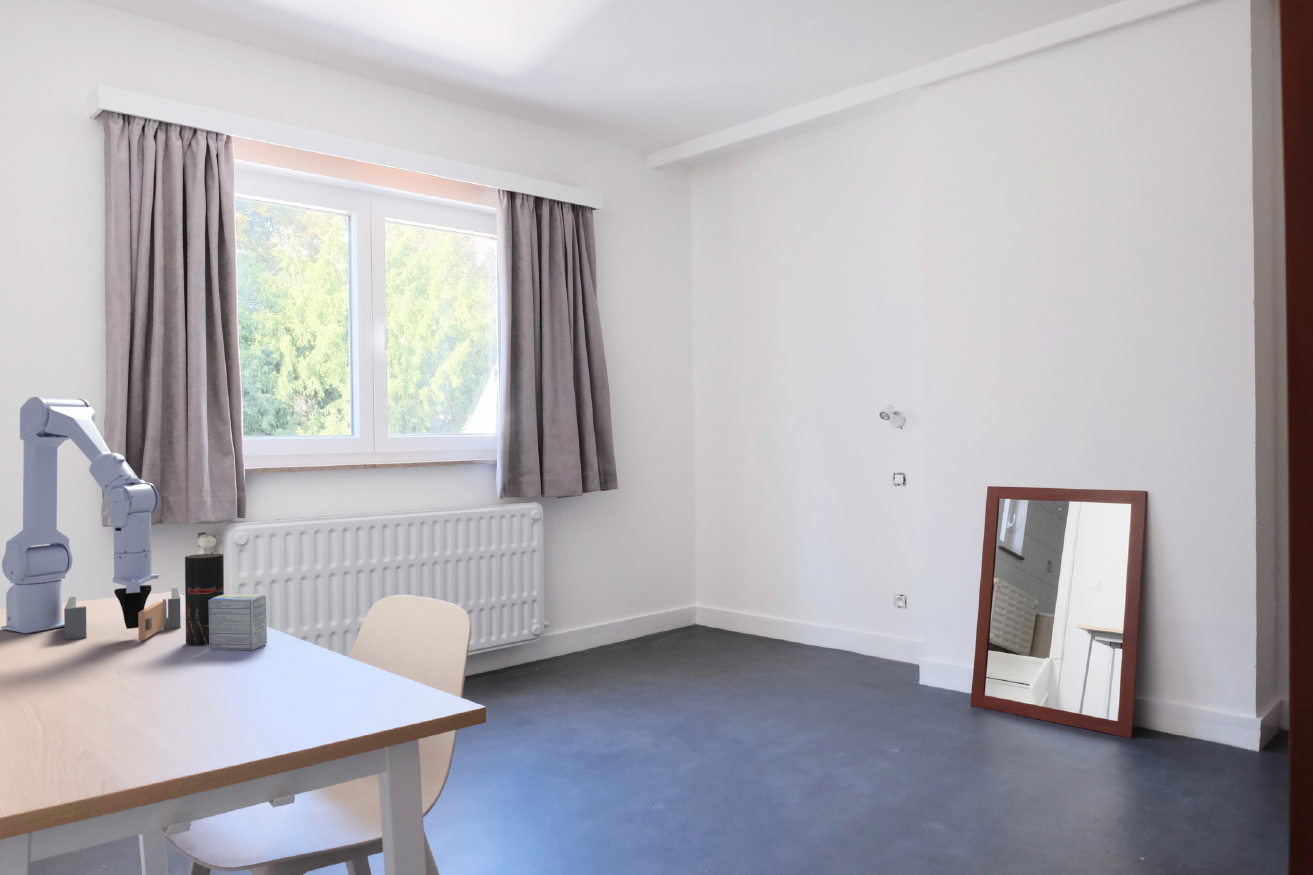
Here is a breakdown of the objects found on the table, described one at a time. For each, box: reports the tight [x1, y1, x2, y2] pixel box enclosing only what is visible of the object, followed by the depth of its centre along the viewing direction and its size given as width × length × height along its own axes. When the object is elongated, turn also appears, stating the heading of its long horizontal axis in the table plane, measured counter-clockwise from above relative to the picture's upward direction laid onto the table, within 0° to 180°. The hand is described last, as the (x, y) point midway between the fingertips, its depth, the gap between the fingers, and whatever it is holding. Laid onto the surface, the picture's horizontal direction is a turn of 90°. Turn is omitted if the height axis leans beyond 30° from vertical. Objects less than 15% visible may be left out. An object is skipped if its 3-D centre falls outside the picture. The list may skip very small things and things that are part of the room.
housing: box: [63, 587, 181, 641], centre depth 163 cm, size 14×18×6 cm
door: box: [138, 600, 164, 641], centre depth 155 cm, size 2×10×5 cm, turn 14°
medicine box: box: [208, 593, 268, 651], centre depth 146 cm, size 8×4×9 cm, turn 84°
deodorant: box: [184, 553, 225, 647], centre depth 150 cm, size 6×6×15 cm
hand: (133, 627), depth 154 cm, fingers closed
